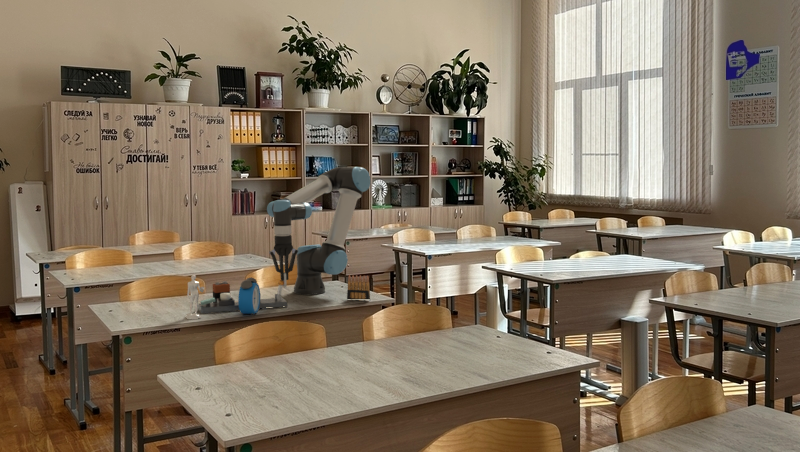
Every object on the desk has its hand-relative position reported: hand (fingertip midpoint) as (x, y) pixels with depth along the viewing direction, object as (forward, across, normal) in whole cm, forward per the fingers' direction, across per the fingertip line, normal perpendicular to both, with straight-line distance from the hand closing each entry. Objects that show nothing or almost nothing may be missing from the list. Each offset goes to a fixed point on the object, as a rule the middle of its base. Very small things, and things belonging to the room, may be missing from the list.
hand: (284, 287), depth 328 cm
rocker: (+3, +34, -1) cm, 34 cm away
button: (+4, +26, -1) cm, 26 cm away
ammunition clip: (+9, -34, +2) cm, 35 cm away
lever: (+6, +3, 0) cm, 6 cm away
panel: (+8, +19, -1) cm, 20 cm away
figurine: (+8, +40, +10) cm, 42 cm away
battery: (+8, +26, -14) cm, 30 cm away
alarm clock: (+8, +18, +11) cm, 23 cm away
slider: (+5, +12, -2) cm, 13 cm away
